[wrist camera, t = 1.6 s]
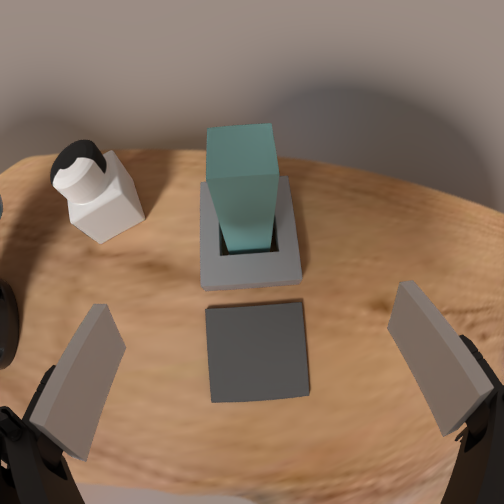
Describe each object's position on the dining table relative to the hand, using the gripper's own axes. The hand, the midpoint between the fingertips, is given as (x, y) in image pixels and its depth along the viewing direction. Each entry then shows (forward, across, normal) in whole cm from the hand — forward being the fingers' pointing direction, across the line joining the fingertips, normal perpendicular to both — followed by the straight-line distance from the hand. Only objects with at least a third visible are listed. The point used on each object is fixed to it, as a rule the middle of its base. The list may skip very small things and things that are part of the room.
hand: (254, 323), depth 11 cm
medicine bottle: (+23, -17, -1) cm, 29 cm away
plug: (+20, 0, -4) cm, 20 cm away
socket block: (+20, 0, -4) cm, 20 cm away
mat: (+10, 0, -14) cm, 17 cm away
